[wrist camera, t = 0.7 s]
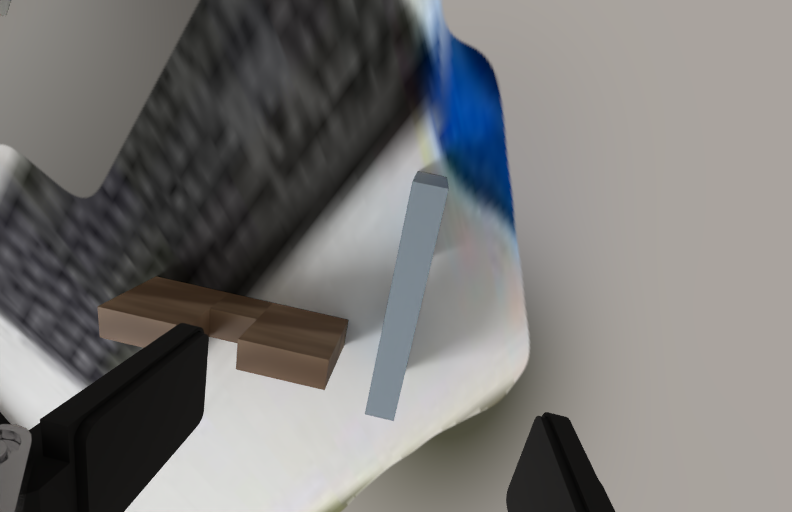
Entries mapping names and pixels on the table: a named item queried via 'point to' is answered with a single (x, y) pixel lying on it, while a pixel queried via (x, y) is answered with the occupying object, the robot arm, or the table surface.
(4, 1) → the small box
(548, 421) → the robot arm
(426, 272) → the plain gray rectangular bar
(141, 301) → the slotted board
